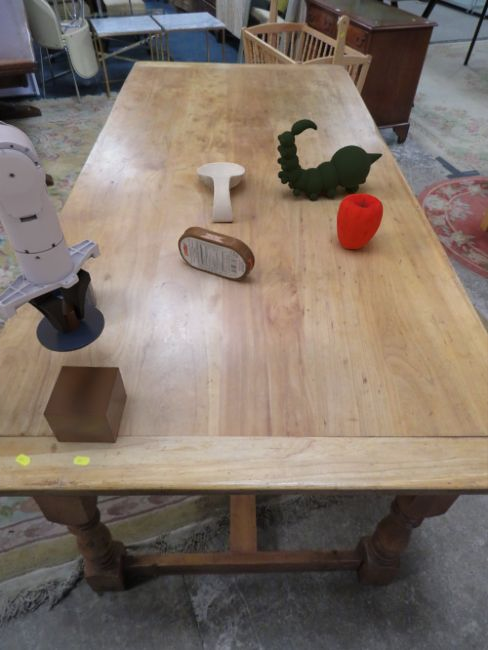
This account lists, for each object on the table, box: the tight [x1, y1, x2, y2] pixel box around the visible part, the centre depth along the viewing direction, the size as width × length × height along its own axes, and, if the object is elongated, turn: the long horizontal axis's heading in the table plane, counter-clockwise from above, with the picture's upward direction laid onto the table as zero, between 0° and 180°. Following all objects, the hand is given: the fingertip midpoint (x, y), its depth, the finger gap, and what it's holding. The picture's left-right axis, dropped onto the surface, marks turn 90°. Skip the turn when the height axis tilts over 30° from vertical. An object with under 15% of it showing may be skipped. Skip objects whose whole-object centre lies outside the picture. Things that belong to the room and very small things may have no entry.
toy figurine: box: [276, 118, 383, 201], centre depth 100 cm, size 9×19×25 cm
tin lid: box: [36, 303, 106, 353], centre depth 59 cm, size 9×9×4 cm
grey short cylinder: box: [52, 280, 98, 308], centre depth 74 cm, size 8×8×5 cm
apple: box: [336, 192, 384, 250], centre depth 87 cm, size 9×9×11 cm
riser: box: [42, 365, 128, 444], centre depth 58 cm, size 8×8×6 cm
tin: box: [177, 226, 256, 281], centre depth 80 cm, size 15×3×8 cm, turn 65°
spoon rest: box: [196, 161, 246, 223], centre depth 101 cm, size 24×12×7 cm, turn 4°
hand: (69, 322), depth 60 cm, fingers closed on tin lid, 2 cm apart
